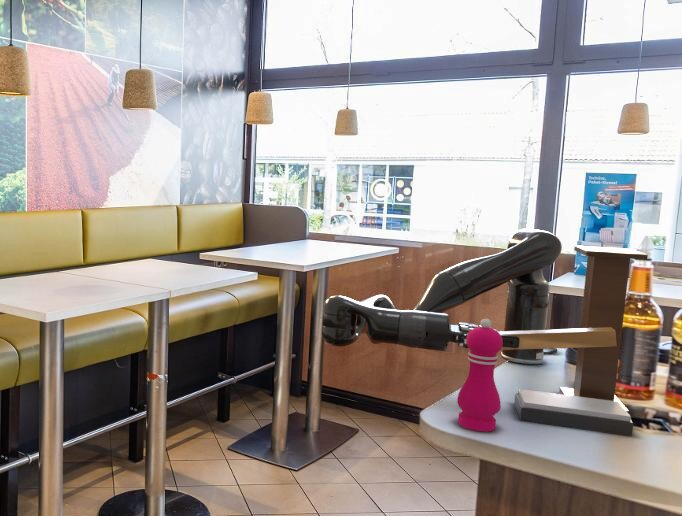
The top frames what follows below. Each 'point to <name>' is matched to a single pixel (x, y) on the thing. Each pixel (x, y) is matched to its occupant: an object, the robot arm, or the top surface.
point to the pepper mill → (480, 380)
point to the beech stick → (564, 338)
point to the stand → (602, 320)
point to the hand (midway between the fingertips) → (517, 340)
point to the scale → (573, 412)
